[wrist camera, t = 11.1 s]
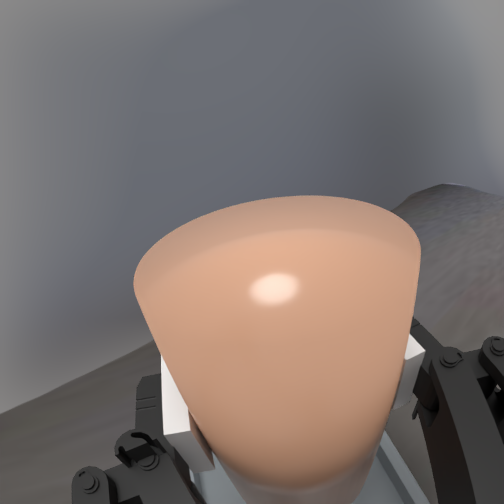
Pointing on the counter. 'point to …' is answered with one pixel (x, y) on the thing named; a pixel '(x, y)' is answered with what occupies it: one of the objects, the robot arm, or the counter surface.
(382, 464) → the grey tray
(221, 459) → the light orange tall cylinder
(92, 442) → the counter surface
